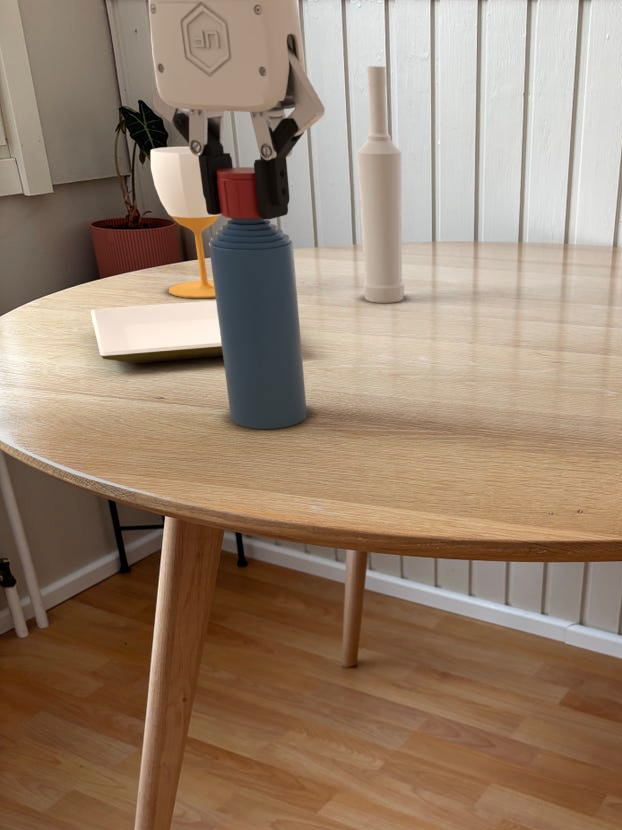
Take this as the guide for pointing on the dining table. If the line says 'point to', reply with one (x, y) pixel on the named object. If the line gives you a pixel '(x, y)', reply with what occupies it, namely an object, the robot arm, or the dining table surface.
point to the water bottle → (259, 323)
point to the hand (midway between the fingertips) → (247, 211)
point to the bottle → (380, 200)
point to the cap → (238, 193)
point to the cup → (184, 206)
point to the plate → (158, 332)
